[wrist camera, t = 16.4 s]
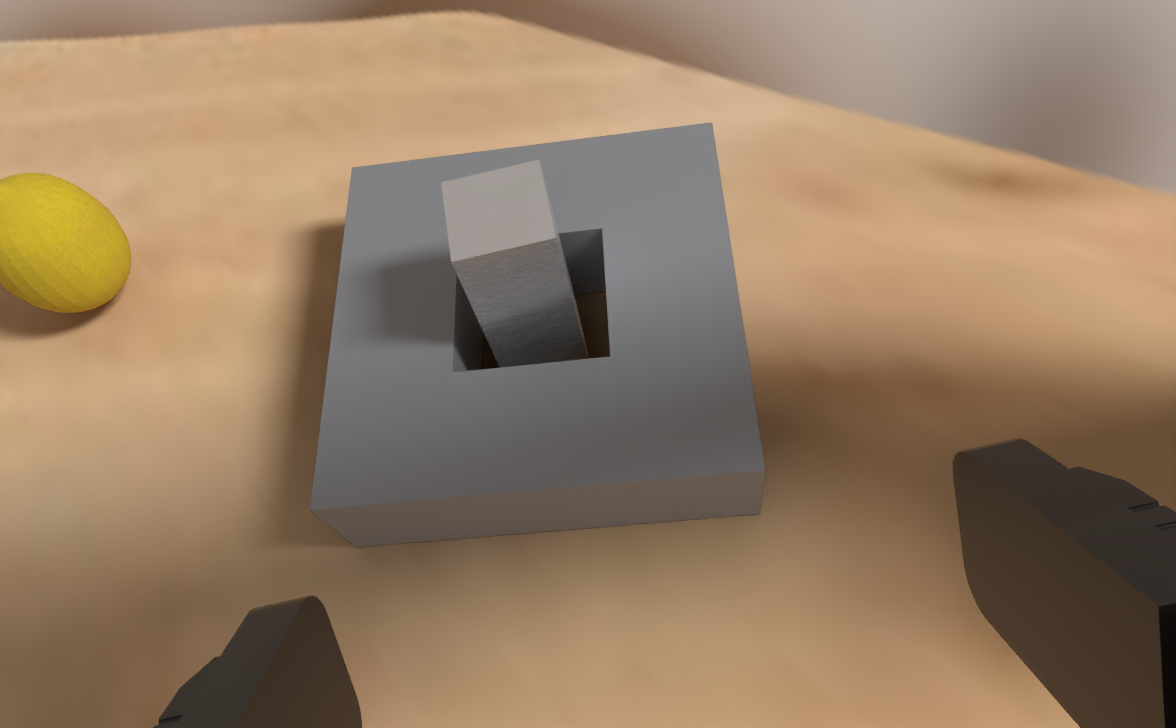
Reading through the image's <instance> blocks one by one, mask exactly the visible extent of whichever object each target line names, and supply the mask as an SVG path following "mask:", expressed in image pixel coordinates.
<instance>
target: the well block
mask: <svg viewBox="0 0 1176 728" xmlns="http://www.w3.org/2000/svg"><path fill="white" fill-rule="evenodd" d="M535 160H540V164H541V168H542V172H543V176H544V179H545V183H546V187H547V191H548V195H549V199H550V202H551V206H552V210H553V214H554V218H555V222H556V225H557V229H558V233H559V237H560V241H561V245H562V249H563V252H564V256H565V260H566V264H567V268H568V272H569V275H570V279H571V283H572V287H573V291H574V294H581V293H591V292H600V291H606V298H607V314H608V330H609V346H610V357H600V358H590V359H581V360H571V361H561V362H551V363H541V364H531V365H521V366H511V367H501V368H492V369H482V349H483V330H482V328H481V326H480V324H479V321H478V319H477V317H476V315H475V313H474V310H473V308H472V306H471V304H470V302H469V300H468V297H467V295H466V293H465V291H464V289H463V287H462V284H461V282H460V280H459V278H458V276H457V273H456V271H455V269H454V267H453V265H452V263H451V256H450V249H449V241H448V233H447V225H446V217H445V209H444V202H443V194H442V186H441V182H445V181H449V180H453V179H458V178H462V177H466V176H471V175H475V174H479V173H483V172H488V171H492V170H496V169H501V168H505V167H509V166H513V165H518V164H522V163H526V162H531V161H535ZM764 478H765V464H764V457H763V451H762V444H761V438H760V431H759V425H758V418H757V412H756V405H755V399H754V392H753V386H752V379H751V373H750V366H749V360H748V353H747V347H746V340H745V334H744V327H743V321H742V314H741V308H740V301H739V295H738V288H737V282H736V275H735V269H734V262H733V256H732V249H731V243H730V236H729V229H728V223H727V216H726V210H725V203H724V197H723V190H722V184H721V177H720V171H719V164H718V158H717V151H716V145H715V138H714V132H713V125H712V123H704V124H696V125H688V126H680V127H672V128H664V129H656V130H648V131H640V132H632V133H624V134H616V135H608V136H600V137H592V138H584V139H576V140H568V141H560V142H552V143H544V144H536V145H529V146H521V147H513V148H505V149H497V150H489V151H481V152H473V153H465V154H457V155H449V156H441V157H433V158H425V159H417V160H409V161H401V162H393V163H385V164H377V165H369V166H361V167H353V168H352V172H351V180H350V188H349V196H348V204H347V212H346V221H345V229H344V237H343V245H342V253H341V261H340V269H339V277H338V285H337V293H336V301H335V309H334V317H333V325H332V334H331V342H330V350H329V358H328V366H327V374H326V382H325V390H324V398H323V406H322V414H321V422H320V430H319V438H318V447H317V455H316V463H315V471H314V479H313V487H312V495H311V503H310V511H312V512H313V513H314V514H315V515H317V516H318V517H319V518H320V519H322V520H323V521H324V522H325V523H327V524H328V525H329V526H330V527H331V528H333V529H334V530H335V531H336V532H338V533H339V534H340V535H341V536H343V537H344V538H345V539H346V540H348V541H349V542H350V543H351V544H353V545H354V546H355V547H366V546H378V545H390V544H402V543H415V542H427V541H439V540H451V539H463V538H475V537H487V536H499V535H512V534H524V533H536V532H548V531H560V530H572V529H584V528H597V527H609V526H621V525H633V524H645V523H657V522H669V521H681V520H694V519H706V518H718V517H730V516H742V515H754V514H760V507H761V500H762V493H763V485H764Z"/></svg>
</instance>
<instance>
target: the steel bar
mask: <svg viewBox="0 0 1176 728" xmlns="http://www.w3.org/2000/svg"><path fill="white" fill-rule="evenodd" d="M441 186H442V194H443V202H444V209H445V217H446V225H447V233H448V241H449V249H450V256H451V263H452V265H453V267H454V269H455V271H456V273H457V276H458V278H459V280H460V282H461V284H462V287H463V289H464V291H465V293H466V295H467V297H468V300H469V302H470V304H471V306H472V308H473V310H474V313H475V315H476V317H477V319H478V321H479V324H480V326H481V328H482V330H483V332H484V334H485V337H486V339H487V341H488V343H489V345H490V347H491V350H492V352H493V354H494V356H495V358H496V360H497V363H498V365H499V367H500V368H501V367H511V366H521V365H531V364H541V363H551V362H561V361H571V360H581V359H589V356H588V351H587V347H586V342H585V337H584V333H583V328H582V323H581V319H580V314H579V310H578V306H577V302H576V298H575V295H574V291H573V287H572V283H571V279H570V275H569V272H568V268H567V264H566V260H565V256H564V252H563V249H562V245H561V241H560V237H559V233H558V229H557V225H556V222H555V218H554V214H553V210H552V206H551V202H550V199H549V195H548V191H547V187H546V183H545V179H544V176H543V172H542V168H541V164H540V160H535V161H531V162H526V163H522V164H518V165H513V166H509V167H505V168H501V169H496V170H492V171H488V172H483V173H479V174H475V175H471V176H466V177H462V178H458V179H453V180H449V181H445V182H441Z"/></svg>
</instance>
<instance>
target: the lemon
mask: <svg viewBox="0 0 1176 728" xmlns="http://www.w3.org/2000/svg"><path fill="white" fill-rule="evenodd" d="M130 266H131V251H130V246H129V242H128V239H127V237H126V234H125V233H124V231H123V229H122V228H121V226H120V224H119V223H118V221H117V220H116V218H115V217H114V216H113V214H112V213H111V212H110V211H109V210H108V209H107V208H106V207H105V206H104V205H103V204H102V203H101V202H99V201H98V200H97V199H96V198H94V197H93V196H91V195H90V194H89V193H87V192H86V191H84V190H83V189H81V188H80V187H78V186H76V185H75V184H73V183H71V182H69V181H66V180H64V179H61V178H58V177H55V176H52V175H47V174H39V173H24V174H17V175H11V176H9V177H6V178H3V179H1V180H0V284H1V285H2V286H3V287H4V288H5V289H7V290H8V291H9V292H11V293H12V294H14V295H15V296H17V297H19V298H21V299H22V300H24V301H26V302H27V303H29V304H31V305H34V306H36V307H39V308H41V309H45V310H50V311H55V312H60V313H75V312H83V311H87V310H91V309H94V308H97V307H99V306H101V305H103V304H105V303H106V302H108V301H109V300H111V299H112V298H113V297H114V296H115V295H116V294H117V293H118V292H119V291H120V290H121V289H122V287H123V286H124V284H125V282H126V280H127V277H128V275H129V273H130Z"/></svg>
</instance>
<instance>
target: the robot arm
mask: <svg viewBox="0 0 1176 728" xmlns="http://www.w3.org/2000/svg"><path fill="white" fill-rule="evenodd" d="M953 477H954V485H955V493H956V501H957V510H958V518H959V526H960V534H961V542H962V550H963V559H964V566H965V572H966V576H967V580H968V583H969V586H970V589H971V592H972V594H973V597H974V599H975V601H976V603H977V605H978V607H979V609H980V611H981V612H982V614H983V615H984V617H985V618H986V619H987V621H988V622H989V623H990V624H991V625H992V626H993V627H994V629H995V630H996V631H997V632H998V633H999V634H1000V636H1001V637H1002V638H1003V639H1004V640H1005V641H1006V642H1007V644H1008V645H1009V646H1010V647H1011V648H1012V649H1013V651H1014V652H1015V653H1016V654H1017V655H1018V656H1019V657H1020V659H1021V660H1022V661H1023V662H1024V663H1025V664H1026V665H1027V667H1028V668H1029V669H1030V670H1031V671H1032V672H1033V674H1034V675H1035V676H1036V677H1037V678H1038V679H1039V680H1040V682H1041V683H1042V684H1043V685H1044V686H1045V687H1046V689H1047V690H1048V691H1049V692H1050V693H1051V694H1052V695H1053V697H1054V698H1055V699H1056V700H1057V701H1058V702H1059V704H1060V705H1061V706H1062V707H1063V708H1064V709H1065V710H1066V712H1067V713H1068V714H1069V715H1070V716H1071V717H1072V719H1073V720H1074V721H1075V722H1076V723H1077V724H1078V725H1079V727H1080V728H1176V512H1174V511H1173V510H1171V509H1169V508H1168V507H1166V506H1159V504H1158V501H1157V500H1155V499H1153V498H1152V497H1150V496H1149V495H1147V494H1145V493H1144V492H1142V491H1141V490H1139V489H1137V488H1136V487H1134V486H1132V485H1131V484H1129V483H1128V482H1126V481H1124V480H1121V479H1118V478H1114V477H1111V476H1108V475H1104V474H1101V473H1098V472H1094V471H1091V470H1088V469H1084V468H1081V467H1076V468H1071V469H1068V468H1067V467H1065V466H1064V465H1062V464H1061V463H1059V462H1058V461H1056V460H1055V459H1053V458H1052V457H1050V456H1049V455H1047V454H1046V453H1044V452H1043V451H1041V450H1040V449H1038V448H1037V447H1035V446H1034V445H1032V444H1031V443H1029V442H1028V441H1026V440H1024V439H1020V438H1019V439H1014V440H1010V441H1005V442H1001V443H996V444H992V445H987V446H983V447H978V448H974V449H969V450H965V451H960V452H958V453H957V454H956V455H955V458H954V462H953ZM153 728H362V720H361V712H360V707H359V703H358V699H357V696H356V693H355V690H354V688H353V685H352V682H351V679H350V676H349V673H348V671H347V668H346V665H345V662H344V659H343V657H342V654H341V651H340V648H339V645H338V643H337V640H336V637H335V634H334V631H333V628H332V626H331V623H330V620H329V617H328V615H327V612H326V610H325V608H324V606H323V604H322V603H321V601H320V600H319V599H318V598H317V597H315V596H307V597H303V598H298V599H294V600H289V601H285V602H280V603H276V604H271V605H267V606H262V607H258V608H254V609H252V610H251V611H250V612H249V613H248V614H247V616H246V617H245V619H244V621H243V622H242V624H241V625H240V627H239V628H238V630H237V631H236V633H235V634H234V636H233V638H232V639H231V641H230V642H229V644H228V645H227V647H226V648H225V650H224V652H223V653H222V655H221V656H219V657H215V658H214V659H213V660H211V661H210V662H209V663H208V664H207V665H206V666H205V667H203V668H202V669H201V670H200V671H199V672H198V673H197V674H195V675H194V676H193V677H192V678H191V679H190V680H189V681H188V682H186V683H185V684H184V685H183V686H182V687H181V688H180V689H179V690H178V692H177V693H176V695H175V696H174V698H173V699H172V701H171V702H170V704H169V705H168V707H167V708H166V710H165V711H164V712H163V714H162V715H161V717H160V718H159V725H157V726H154V727H153Z"/></svg>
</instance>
